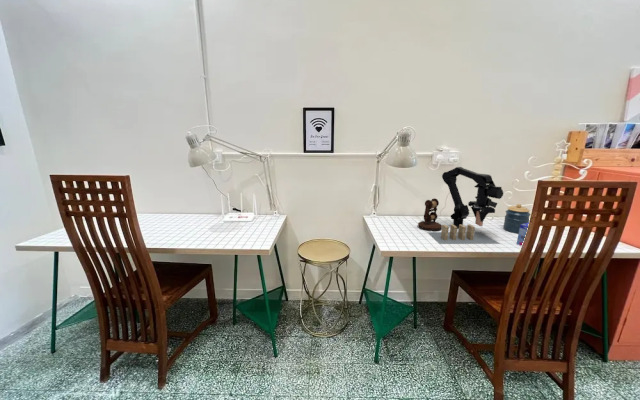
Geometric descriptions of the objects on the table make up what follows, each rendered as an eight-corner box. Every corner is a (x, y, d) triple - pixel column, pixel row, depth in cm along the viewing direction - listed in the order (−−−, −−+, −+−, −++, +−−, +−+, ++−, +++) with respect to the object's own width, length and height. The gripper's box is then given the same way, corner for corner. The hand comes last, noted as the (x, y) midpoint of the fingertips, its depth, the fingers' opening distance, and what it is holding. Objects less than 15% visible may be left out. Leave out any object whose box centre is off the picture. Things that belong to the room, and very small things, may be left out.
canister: (526, 229, 174) (531, 203, 170) (528, 235, 163) (533, 207, 159) (502, 225, 181) (506, 200, 177) (502, 231, 170) (507, 204, 166)
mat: (427, 232, 169) (427, 232, 169) (481, 232, 168) (481, 232, 168) (439, 244, 151) (439, 243, 151) (500, 244, 150) (500, 243, 150)
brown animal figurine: (426, 223, 188) (428, 195, 183) (446, 229, 176) (449, 199, 171) (413, 227, 180) (415, 198, 175) (433, 233, 168) (435, 203, 163)
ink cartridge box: (526, 248, 144) (531, 223, 141) (515, 244, 149) (519, 220, 146) (537, 245, 148) (542, 220, 145) (526, 241, 153) (530, 217, 150)
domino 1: (444, 240, 156) (445, 227, 154) (441, 237, 161) (442, 224, 159) (447, 240, 156) (448, 227, 154) (443, 237, 161) (444, 224, 159)
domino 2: (453, 240, 156) (454, 227, 154) (449, 237, 161) (450, 224, 159) (455, 240, 156) (457, 227, 154) (452, 237, 161) (453, 224, 159)
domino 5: (479, 226, 162) (481, 213, 160) (475, 223, 167) (476, 211, 165) (482, 226, 162) (484, 213, 160) (477, 223, 166) (479, 211, 165)
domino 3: (461, 240, 156) (463, 227, 154) (457, 237, 161) (459, 224, 159) (464, 240, 156) (466, 227, 154) (460, 237, 161) (461, 224, 159)
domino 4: (470, 240, 156) (472, 227, 154) (466, 237, 160) (467, 224, 159) (473, 240, 156) (474, 227, 154) (468, 237, 160) (470, 224, 159)
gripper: (506, 198, 151) (502, 225, 154) (486, 192, 169) (483, 216, 172) (486, 199, 151) (483, 225, 154) (469, 192, 169) (466, 216, 173)
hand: (479, 220), depth 163 cm, fingers closed on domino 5, 5 cm apart
